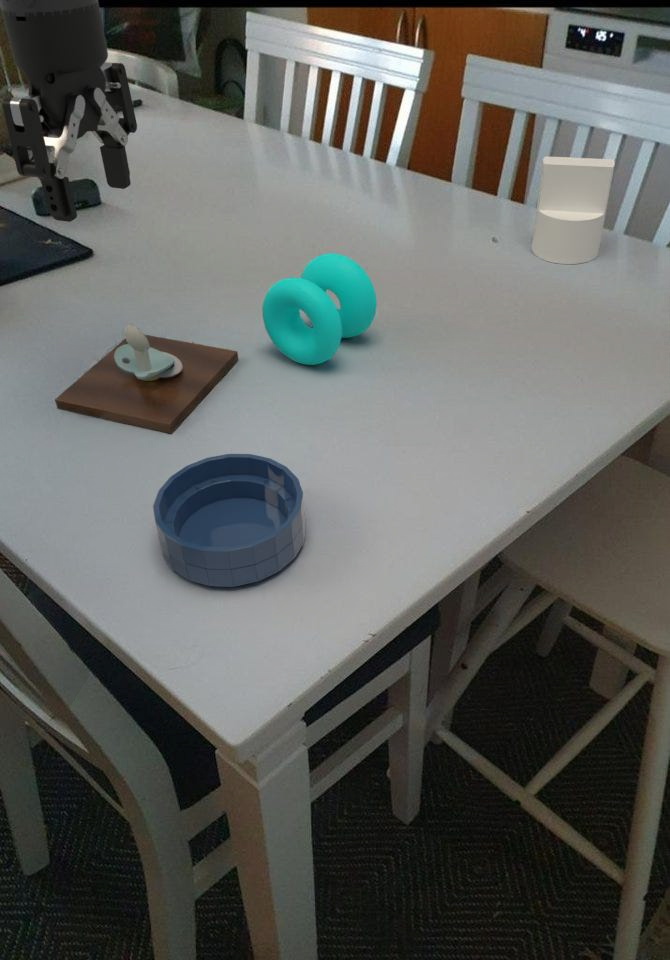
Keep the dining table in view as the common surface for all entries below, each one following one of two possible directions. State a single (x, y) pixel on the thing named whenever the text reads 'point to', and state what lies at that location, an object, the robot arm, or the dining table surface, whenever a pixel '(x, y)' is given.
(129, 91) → the robot arm
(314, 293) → the donuts
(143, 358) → the pacifier
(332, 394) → the dining table surface
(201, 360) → the board
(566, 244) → the cylinder with rectangular tab
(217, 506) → the bowl
